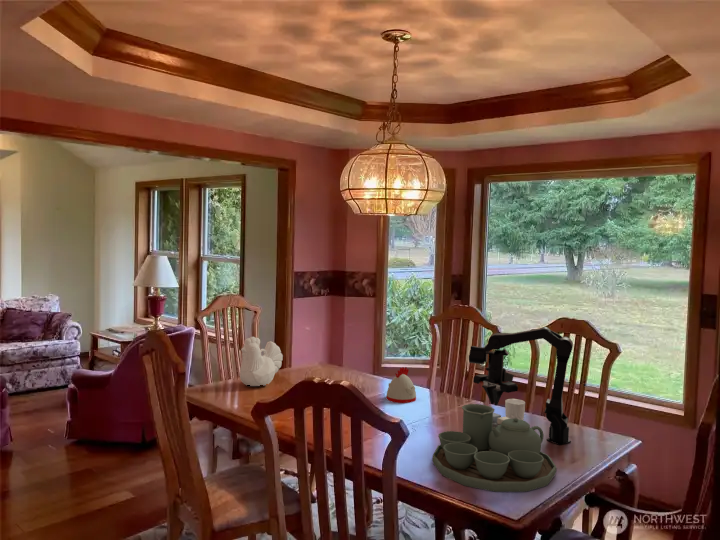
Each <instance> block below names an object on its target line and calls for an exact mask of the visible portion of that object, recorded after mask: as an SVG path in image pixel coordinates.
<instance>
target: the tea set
mask: <svg viewBox="0 0 720 540" xmlns="http://www.w3.org/2000/svg"><path fill="white" fill-rule="evenodd" d="M461 408H462V411H463V413H462V414H463V415H462V416H463V417H462V431H455V430H450V431H448V430H447V431H446V430H445V431H442V432H440V433H438V436H437V437H438V439H439V442H440V443H439V445H437V447H436V448H435V450H434V452H433V454H432V460H431V461H432V463H433V465H434V466H435V468H436V469H437V470H438V472H439V473H440V474H441V476H443V477H445V478H447V479H450V480H452V481H454V482H456V483H458V484H460V485H462V486H465V487H468V488H474V489H479V490H486V491H488V492H489V491H490V492H495V493H496V492H497V493H498V492H500V493H501V492H502V493H508V492H509V493H510V492H511V493H516V492H517V493H519V492H520V493H522V492H523V493H526V492H530V491H533V490H536V489H540V488H543V487H547V486H548V485H549V483H551V481H552V479H553V478H554V477H555V475H556V474H557V465H556V464H555V462H554V461H553V459H552V458H551V457H550V455H549V454H547V453H545V452H542V451H541V449H542V443H543V440H544V436H545V435H544V434H545V433H544V431H543V429H542V428H541V427H539V426H537V425H534V426H532V427H531V425H530V423H528V422H527V421H526V420H520V419H517V418H514V419H505V420H504V421H502V422H501V425H498V426H497V427H496V428H495V427H493V428H492V423H493V413H495V410H496V409H495V408H493V407H492V406H490V405H486V404H481V403H468V404H464V405H463V406H461ZM536 430H538V432H539V433H538V432H537V431H536Z"/></svg>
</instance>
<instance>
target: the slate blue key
mask: <svg viewBox="0 0 720 540" xmlns="http://www.w3.org/2000/svg"><path fill="white" fill-rule="evenodd" d="M500 417H502V415H501V414H498V413H496V412H493V422H497V418H500Z"/></svg>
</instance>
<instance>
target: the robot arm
mask: <svg viewBox="0 0 720 540" xmlns="http://www.w3.org/2000/svg"><path fill="white" fill-rule="evenodd" d="M542 339H543V340H544V341H546V342H547V343H548V344H550V345H551V346H552V347H554V348H555V350H556V351H555V352H556V353H555V354H556V366H555V367H556V368H555V372H554V373H555V374H554V379H553V380H554V381H553V388H552V392H551V398H550V399H549V398H547V399H546V401H545V409H544V414H545V418H546V419H547V421H549V423H550V424H549V428H548V438H546V441H549V442H550V443H554V444H556V445H559V446H562V445H566V444H570V443H572V441H571V440H569V435H570V434H569V433H570V432H569V431H570V426H568V422H569V417H568V416H567V415H566V414H565V413H564V410H563V409H564V407H563V406H564V405H563V393H564V387H565V379H566V373H567V372H566V371H567V366H568V362H569V360H570V357H571V353H572V351H573V347H574V343H573V340H572V339H571V338H569V337H568V336H562V335H560V334H559V333H557V332H555V331H553V330H551V329H550V328H549V327H546V326H544V327H540V328H535V329H534V328H533V329H529V330H523V331H519V332H518V331H517V332H513V333H512V332H495V333H493V334H492V335H491V336H490V337H489V338H488V344H486V345H485V346H484V347H483V346H482V347H481V346H476V345H472V346H470V350H469V355H468V362H469V364H477V365H484V364H485V363H487V362H488V365H487V367H486V368H485V370H486V371H487V374H483V373H482V374H477V375H474V377H473V383H475V384H480V383H481V382H482V383H483V385H482V386H481V387H482V388H483V389H484V391H485V393H486V395H487V397H488V400H489V401H490V404H491V405H494V406H498V405H499V402H500V399H501V397H502V395H503V393H506V394H507V393H514V392H518V391H519V386H518V384H517V383H516V382H513V380H514V377H515V375H514V374H511V373H509V372H507V371H506V370H507V369H506V367H505V368H504V359H505V358H504V357H507V356H509V354H510V353H509V351H507V349H506V348H505V347H508V346H510V345H513V344H517V343H518V344H519V343H523V342H530V341H537V340H542ZM492 350H494V351H492Z"/></svg>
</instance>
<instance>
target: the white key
mask: <svg viewBox="0 0 720 540" xmlns="http://www.w3.org/2000/svg"><path fill="white" fill-rule="evenodd" d="M505 419H510V418H507V417H506V416H501V417H500V418H497V424H500V425H501V422H502V421H504V420H505Z"/></svg>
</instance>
